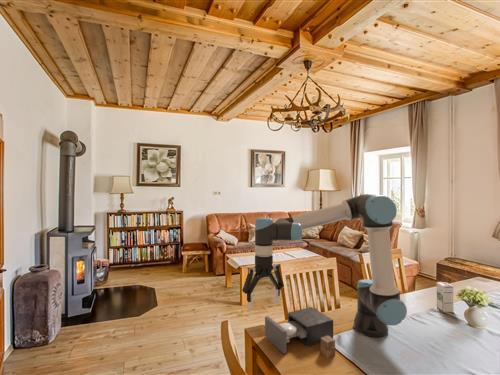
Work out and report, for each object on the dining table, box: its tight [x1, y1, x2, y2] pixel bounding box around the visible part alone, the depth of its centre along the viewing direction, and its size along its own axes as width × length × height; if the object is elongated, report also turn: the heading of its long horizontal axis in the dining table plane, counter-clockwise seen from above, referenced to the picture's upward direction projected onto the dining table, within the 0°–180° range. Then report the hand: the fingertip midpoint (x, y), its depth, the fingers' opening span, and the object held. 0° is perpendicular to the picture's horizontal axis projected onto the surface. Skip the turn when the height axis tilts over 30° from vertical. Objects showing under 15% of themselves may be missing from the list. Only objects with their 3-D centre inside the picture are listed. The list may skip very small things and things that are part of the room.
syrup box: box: [436, 281, 455, 313], centre depth 154 cm, size 6×6×14 cm
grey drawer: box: [264, 315, 307, 354], centre depth 123 cm, size 15×15×9 cm
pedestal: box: [320, 336, 336, 358], centre depth 113 cm, size 4×4×6 cm
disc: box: [279, 322, 297, 337], centre depth 122 cm, size 8×8×2 cm
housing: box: [287, 306, 334, 348], centre depth 128 cm, size 14×15×8 cm
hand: (263, 306), depth 117 cm, fingers open, 11 cm apart
